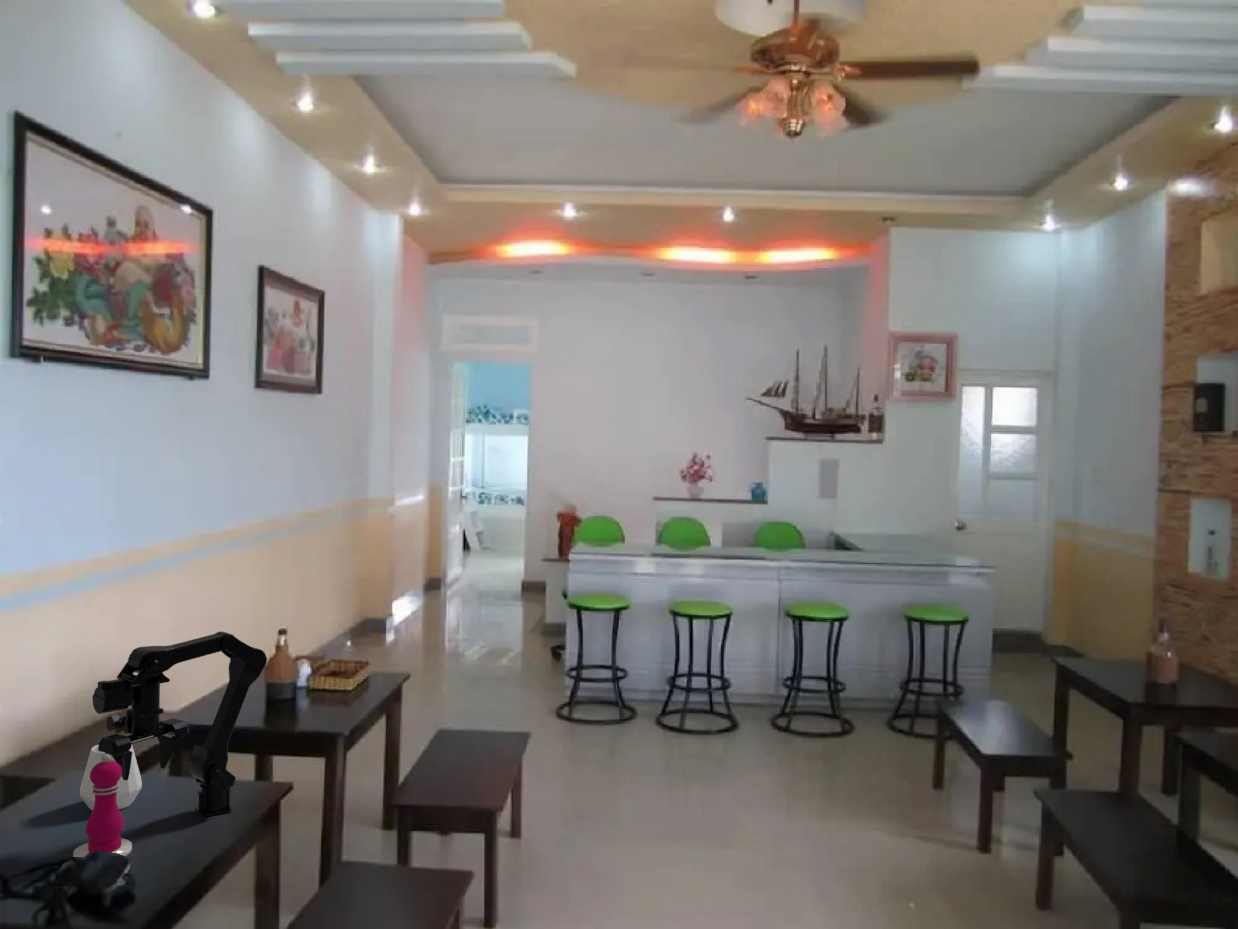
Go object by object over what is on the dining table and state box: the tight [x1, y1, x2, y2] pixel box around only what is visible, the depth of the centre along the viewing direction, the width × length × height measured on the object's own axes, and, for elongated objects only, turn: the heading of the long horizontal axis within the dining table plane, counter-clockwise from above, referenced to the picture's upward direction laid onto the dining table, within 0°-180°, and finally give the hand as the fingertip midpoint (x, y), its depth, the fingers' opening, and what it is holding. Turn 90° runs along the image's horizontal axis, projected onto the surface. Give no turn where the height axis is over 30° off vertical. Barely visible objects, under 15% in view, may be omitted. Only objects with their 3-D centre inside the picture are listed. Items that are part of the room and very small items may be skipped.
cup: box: [79, 744, 143, 811], centre depth 233 cm, size 13×13×14 cm
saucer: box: [72, 837, 133, 858], centre depth 206 cm, size 11×11×1 cm
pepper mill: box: [85, 754, 125, 852], centre depth 206 cm, size 7×7×20 cm
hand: (144, 774), depth 218 cm, fingers open, 9 cm apart
